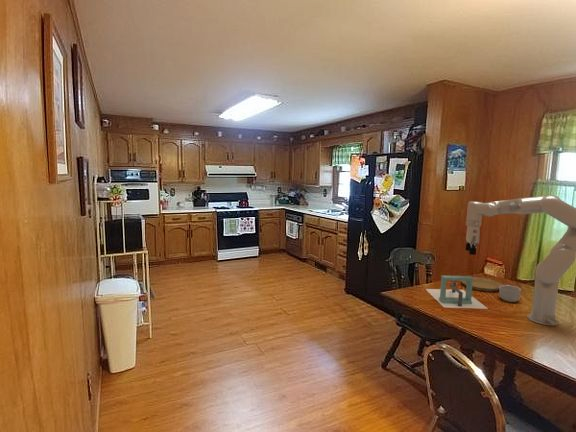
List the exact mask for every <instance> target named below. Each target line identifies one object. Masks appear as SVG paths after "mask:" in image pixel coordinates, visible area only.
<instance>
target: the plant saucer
mask: <svg viewBox="0 0 576 432" xmlns="http://www.w3.org/2000/svg"><path fill="white" fill-rule="evenodd" d="M471 277H472V278H473V285H472V290H474V291H479V292H480V291H481V292H486V293H487V292H488V293H489V292H497V291H499V287H500V286H502V285H503V284H502V283H501V282H499V281H497V280H493V279H489V278H485V277H479V276H478V277H477V276H476V277H475V276H471ZM466 282H467V281H461V283H462V285H463V286H465V287H466Z"/></svg>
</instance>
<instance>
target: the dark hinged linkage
mask: <svg viewBox="0 0 576 432" xmlns="http://www.w3.org/2000/svg"><path fill="white" fill-rule="evenodd" d="M451 281H452V282H451V283H450V284H449V288H450V289H451V290H452V292H453V293H455V292H458V293H459V297H458V306H460V307H461V306H462V297H463V293H462V292H461V291H460V290H461V289H459V288H457V287H456V286H457V280H451Z"/></svg>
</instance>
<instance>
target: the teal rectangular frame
mask: <svg viewBox="0 0 576 432" xmlns="http://www.w3.org/2000/svg"><path fill="white" fill-rule="evenodd" d="M472 277H473V276H470V275H441V277H440V288H439V289H440V297H439V300H440V301H441V302H442V303H449V304H458V298H457V297H446V289H447V281H453V280H456V281H461V282H462V281H467V282H466V286H465V291H466V296H465V298H462V304H472V301H471V298H472V297H473V296H472V295H473V289H472V285H473V278H472Z"/></svg>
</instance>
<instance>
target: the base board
mask: <svg viewBox="0 0 576 432" xmlns="http://www.w3.org/2000/svg"><path fill="white" fill-rule="evenodd" d="M440 289H441V288H425V291H427V293H428V294H430V295H431V297H433V299H435V300H436V301H437V302H438V303H439V304H440V306H442V307H443V308H444V309H445V308H450V309H478V310H479V309H482V310H483V309H484V310H485V309H487V310H488V309H489V307H487V306H485V305H484V304H482V302H480V301H479V300H478V299H476V298H475V297H474V296H472V298H471V301H472V304H462V306H461V307H460V306H458V304H449V303H442V302H441V301H440V300H439V297H440ZM459 290H460V291H461V292H462V293H463V297H462V298H465V296H466V290H465V289H459ZM446 297H457V298H458V297H459V293H458V292H455V293H453V292H452V289H447V288H446Z"/></svg>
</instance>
